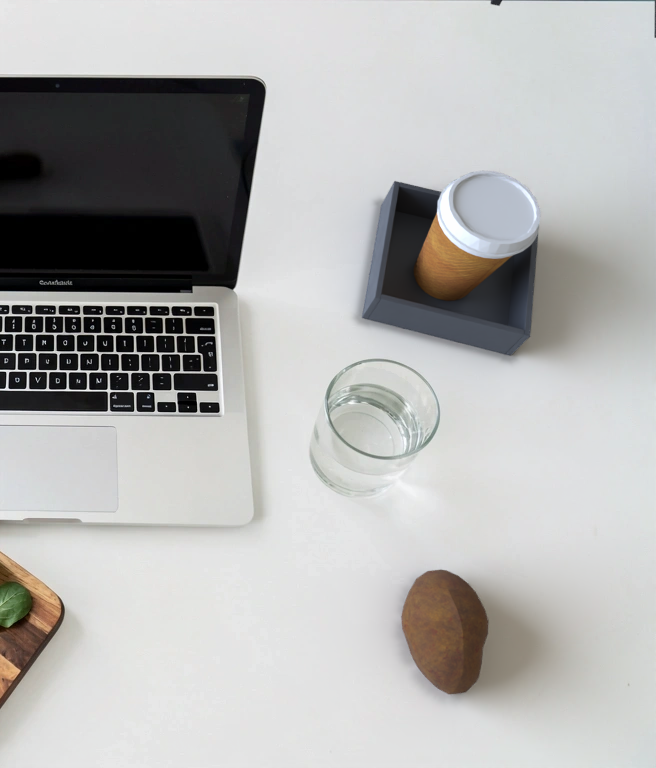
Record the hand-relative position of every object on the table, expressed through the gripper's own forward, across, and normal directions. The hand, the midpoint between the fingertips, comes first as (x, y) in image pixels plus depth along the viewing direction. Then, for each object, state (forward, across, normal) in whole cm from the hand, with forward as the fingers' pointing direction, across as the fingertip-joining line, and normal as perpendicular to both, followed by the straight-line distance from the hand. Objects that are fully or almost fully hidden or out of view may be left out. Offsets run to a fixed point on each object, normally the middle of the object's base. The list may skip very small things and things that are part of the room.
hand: (584, 9), depth 76 cm
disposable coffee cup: (+10, 0, -27) cm, 29 cm away
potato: (+48, -3, -28) cm, 55 cm away
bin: (+10, 0, -28) cm, 29 cm away
